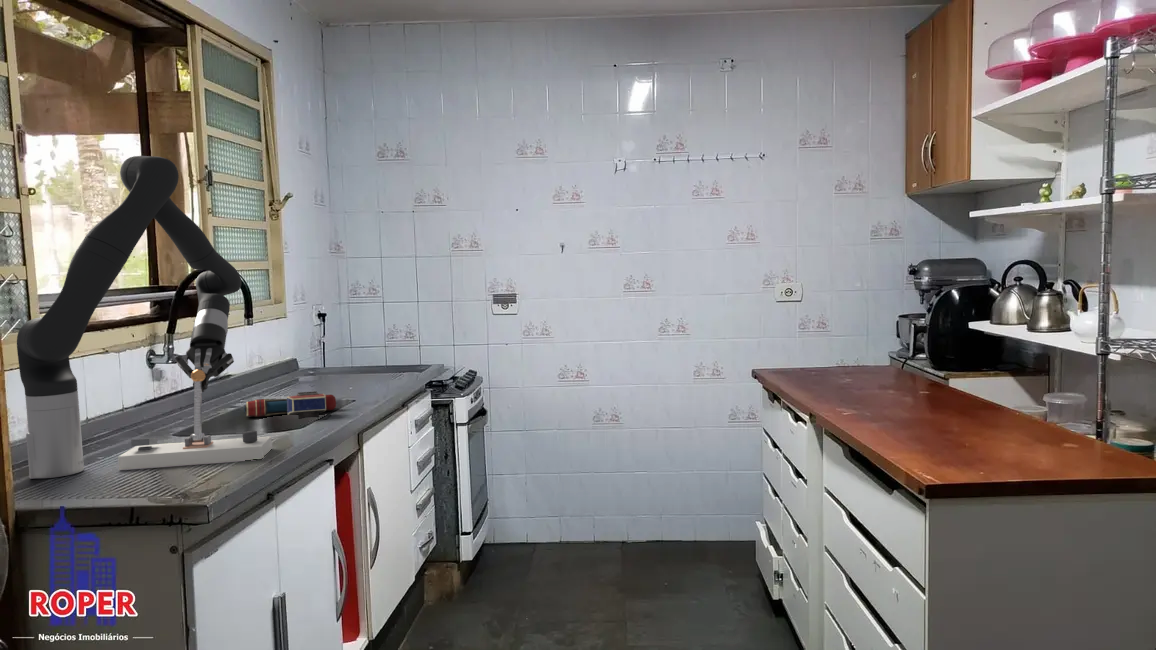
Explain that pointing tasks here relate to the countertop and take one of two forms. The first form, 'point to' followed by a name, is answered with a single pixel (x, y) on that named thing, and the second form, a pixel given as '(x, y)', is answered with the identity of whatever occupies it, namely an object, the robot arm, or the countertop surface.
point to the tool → (292, 405)
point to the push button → (249, 436)
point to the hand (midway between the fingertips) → (199, 390)
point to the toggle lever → (197, 405)
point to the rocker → (144, 442)
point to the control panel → (194, 453)
